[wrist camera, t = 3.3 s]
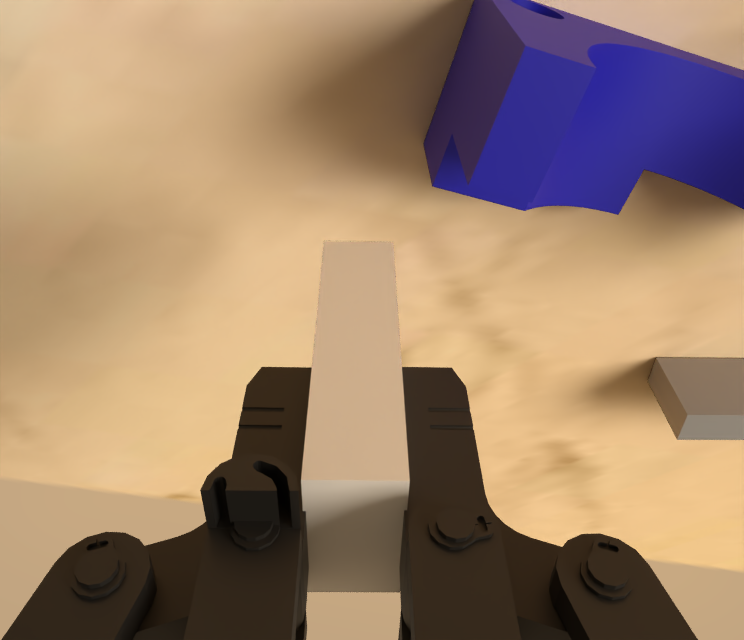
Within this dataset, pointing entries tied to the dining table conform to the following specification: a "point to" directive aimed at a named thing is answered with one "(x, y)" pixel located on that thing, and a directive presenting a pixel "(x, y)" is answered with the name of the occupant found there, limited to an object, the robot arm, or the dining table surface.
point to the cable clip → (580, 113)
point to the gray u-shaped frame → (701, 396)
